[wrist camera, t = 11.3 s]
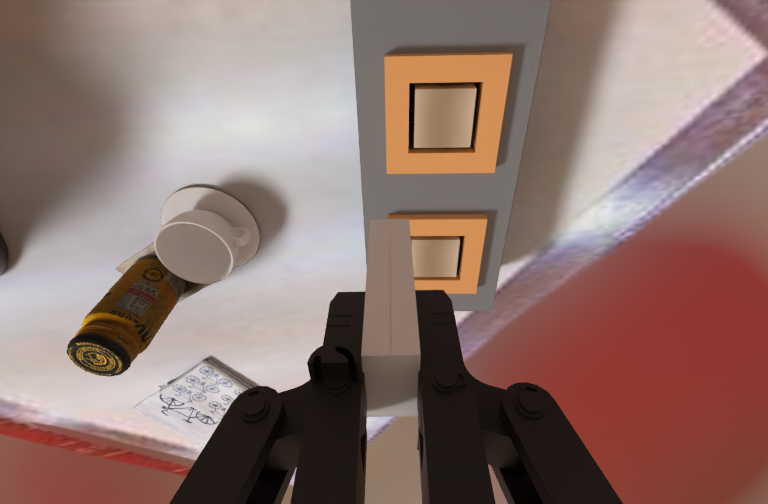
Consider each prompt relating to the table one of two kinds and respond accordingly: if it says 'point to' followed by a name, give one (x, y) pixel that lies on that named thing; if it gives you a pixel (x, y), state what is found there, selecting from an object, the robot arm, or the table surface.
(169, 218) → the teacup
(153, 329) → the condiment
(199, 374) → the bicycle print napkin
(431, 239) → the peg
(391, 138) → the block
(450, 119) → the peg
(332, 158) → the table surface
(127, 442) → the table surface
